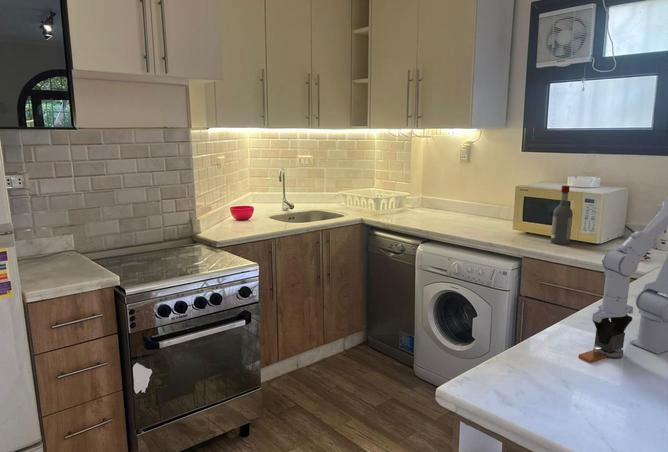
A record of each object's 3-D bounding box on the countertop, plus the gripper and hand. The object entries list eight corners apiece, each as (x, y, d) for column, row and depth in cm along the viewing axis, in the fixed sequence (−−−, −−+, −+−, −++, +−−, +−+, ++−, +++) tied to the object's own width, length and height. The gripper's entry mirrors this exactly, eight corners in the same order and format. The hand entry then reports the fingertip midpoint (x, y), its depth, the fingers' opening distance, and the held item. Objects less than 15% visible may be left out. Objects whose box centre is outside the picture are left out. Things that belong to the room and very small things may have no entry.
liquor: (569, 241, 262) (575, 185, 256) (569, 245, 254) (575, 187, 248) (550, 239, 266) (556, 184, 259) (550, 243, 258) (556, 186, 251)
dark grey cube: (606, 340, 140) (607, 326, 139) (623, 348, 136) (625, 332, 135) (594, 344, 138) (596, 329, 137) (611, 351, 133) (613, 336, 133)
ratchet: (604, 345, 142) (605, 333, 141) (628, 355, 136) (630, 343, 135) (572, 355, 136) (573, 342, 135) (596, 366, 130) (598, 353, 129)
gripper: (618, 286, 140) (612, 330, 143) (584, 294, 134) (579, 340, 137) (643, 294, 134) (636, 340, 137) (609, 302, 128) (602, 351, 131)
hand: (609, 341), depth 136 cm, fingers closed on dark grey cube, 5 cm apart
